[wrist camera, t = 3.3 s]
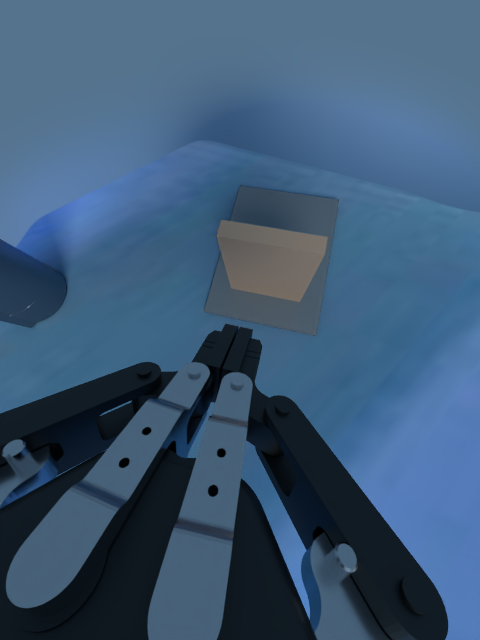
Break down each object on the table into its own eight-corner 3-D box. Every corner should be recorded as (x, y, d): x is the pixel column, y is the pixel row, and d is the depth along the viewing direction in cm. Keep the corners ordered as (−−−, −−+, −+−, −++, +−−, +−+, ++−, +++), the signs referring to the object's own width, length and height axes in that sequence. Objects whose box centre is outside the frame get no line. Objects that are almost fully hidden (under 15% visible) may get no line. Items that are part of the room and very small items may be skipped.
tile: (299, 302, 34) (324, 254, 21) (231, 288, 35) (216, 235, 22) (302, 289, 34) (328, 234, 21) (234, 276, 35) (221, 217, 23)
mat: (315, 335, 33) (316, 334, 32) (205, 312, 35) (204, 310, 34) (337, 203, 38) (339, 199, 37) (240, 189, 40) (240, 185, 39)
